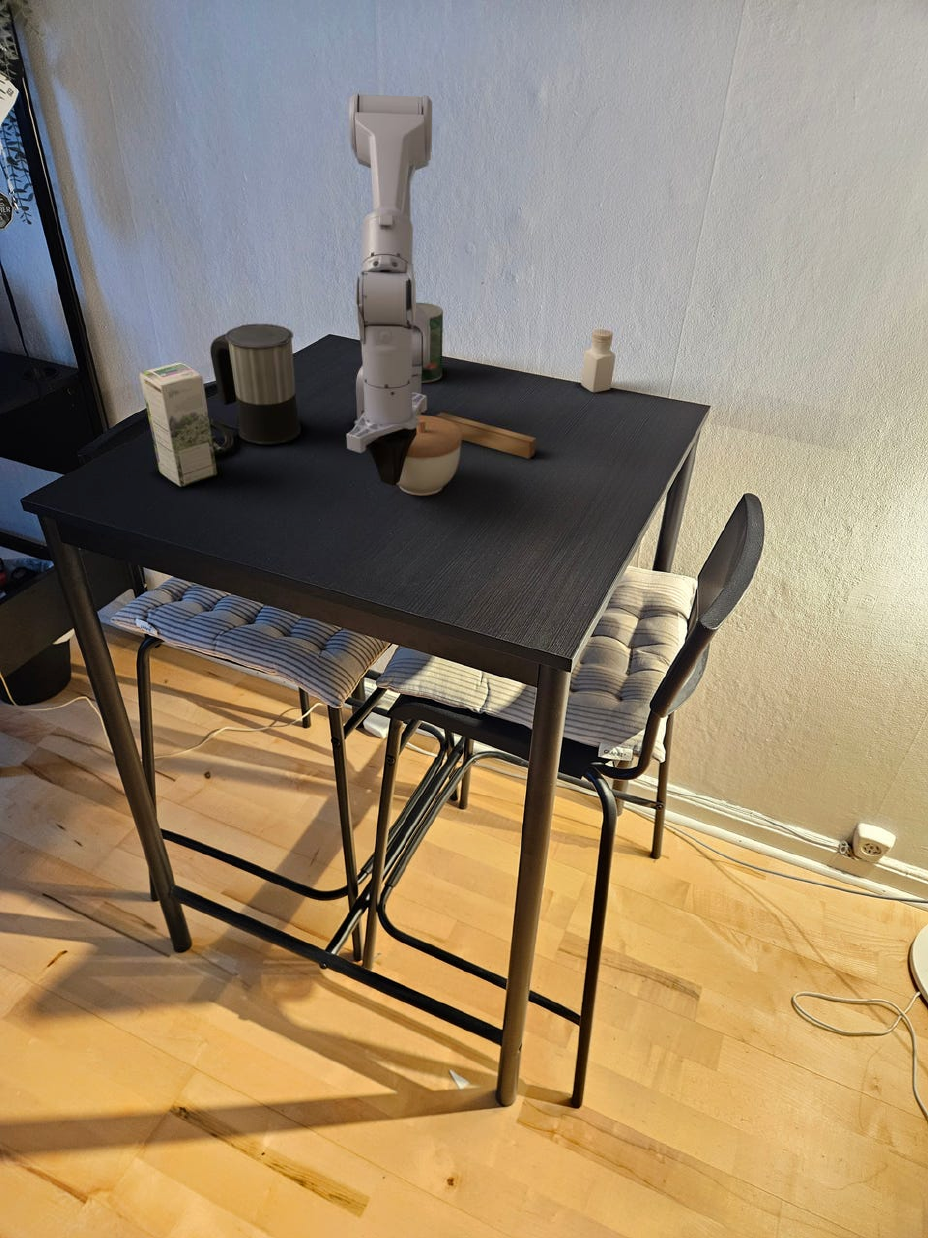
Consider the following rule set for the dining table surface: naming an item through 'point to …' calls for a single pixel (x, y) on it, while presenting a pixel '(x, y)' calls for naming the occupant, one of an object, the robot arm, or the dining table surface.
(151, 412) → the syrup box
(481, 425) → the rail
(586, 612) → the dining table surface
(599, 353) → the pepper shaker
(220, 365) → the milk frother
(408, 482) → the trinket box
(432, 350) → the canned tomato
